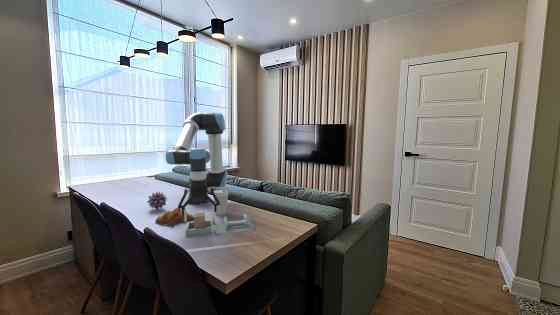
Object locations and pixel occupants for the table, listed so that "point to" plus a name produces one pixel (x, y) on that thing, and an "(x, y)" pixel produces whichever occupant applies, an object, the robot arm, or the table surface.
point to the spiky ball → (157, 200)
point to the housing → (212, 228)
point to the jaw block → (199, 220)
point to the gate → (235, 222)
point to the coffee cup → (221, 201)
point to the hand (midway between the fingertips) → (199, 219)
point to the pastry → (173, 217)
